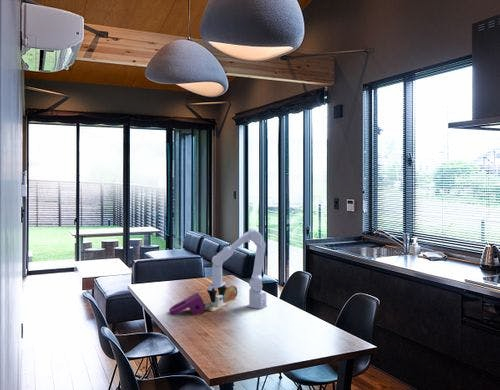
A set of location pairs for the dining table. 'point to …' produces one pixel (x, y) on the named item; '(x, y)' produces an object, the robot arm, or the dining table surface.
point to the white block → (218, 300)
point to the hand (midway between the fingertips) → (217, 300)
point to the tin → (230, 293)
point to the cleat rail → (213, 308)
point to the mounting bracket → (189, 305)
